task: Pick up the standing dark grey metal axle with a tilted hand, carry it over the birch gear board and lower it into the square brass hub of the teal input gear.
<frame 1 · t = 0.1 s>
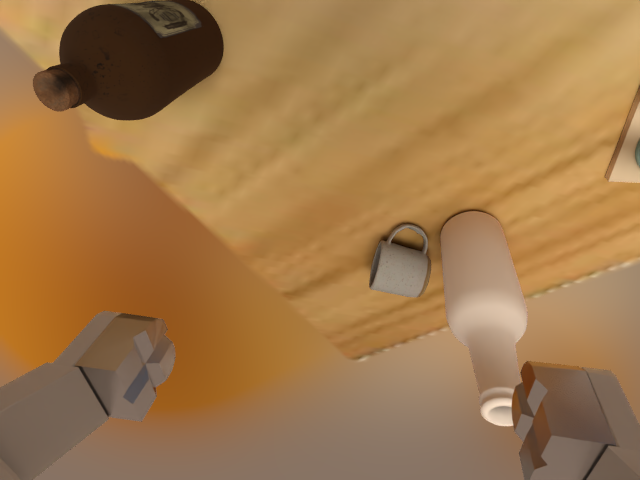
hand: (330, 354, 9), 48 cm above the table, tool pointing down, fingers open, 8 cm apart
ceramic mug: (401, 248, 65), on the table
olive oil: (191, 39, 53), on the table
alcohol: (470, 232, 61), on the table
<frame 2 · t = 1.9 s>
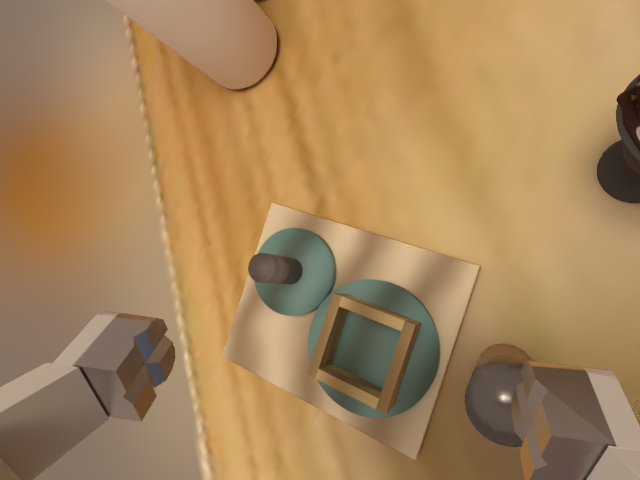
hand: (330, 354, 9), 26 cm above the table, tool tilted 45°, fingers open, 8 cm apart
axle: (505, 370, 31), on the table
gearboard: (340, 316, 37), on the table
alcohol: (247, 56, 46), on the table
sundae: (637, 170, 29), on the table
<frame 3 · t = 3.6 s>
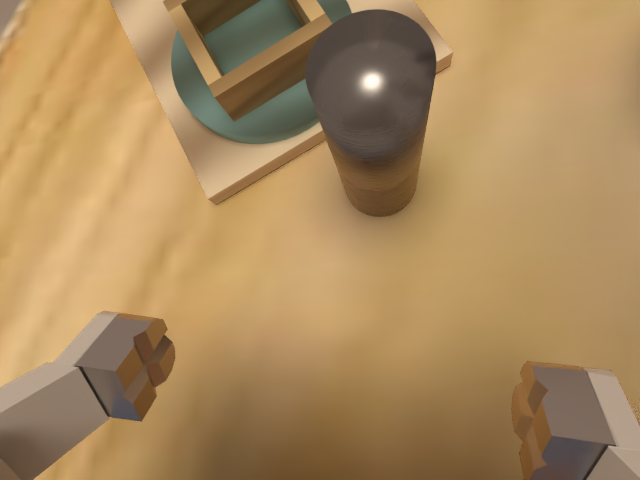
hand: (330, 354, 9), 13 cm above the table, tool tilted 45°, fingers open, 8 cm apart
axle: (380, 182, 23), on the table
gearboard: (257, 16, 27), on the table
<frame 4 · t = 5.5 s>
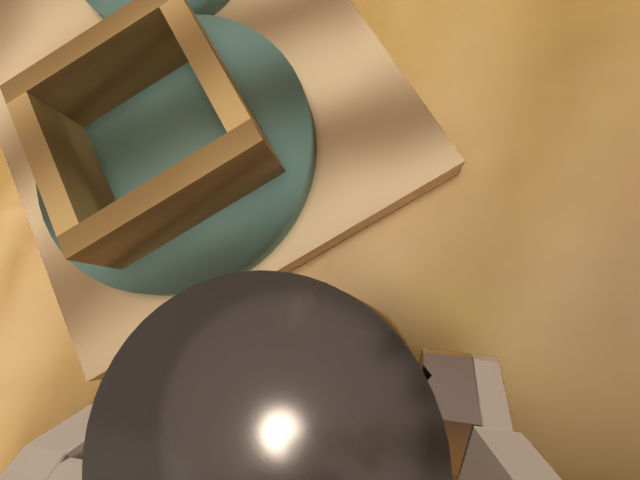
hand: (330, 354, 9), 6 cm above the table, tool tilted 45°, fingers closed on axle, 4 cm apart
axle: (352, 358, 15), on the table, touching gripper
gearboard: (178, 85, 18), on the table
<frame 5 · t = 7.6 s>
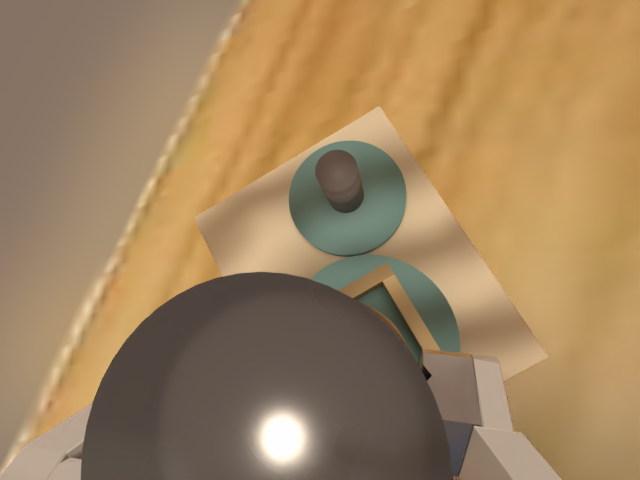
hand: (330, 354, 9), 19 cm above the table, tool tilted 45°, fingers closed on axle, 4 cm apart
axle: (352, 359, 15), point 13 cm above the table, touching gripper
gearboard: (354, 281, 29), on the table
when the fingers open (9 cm above the table, at t = 9.7 s): axle stays where it is, resting on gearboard.
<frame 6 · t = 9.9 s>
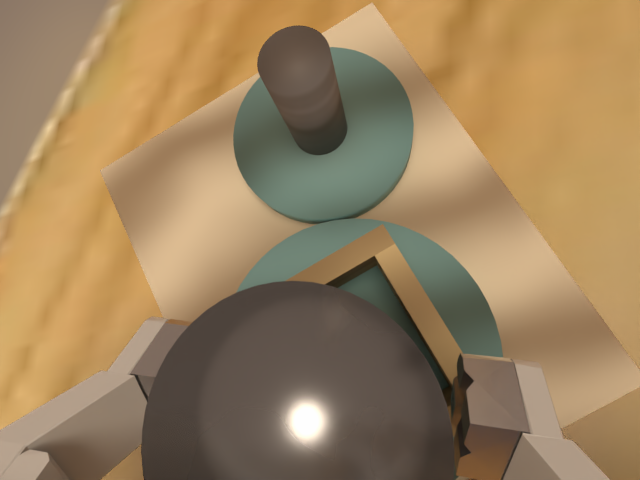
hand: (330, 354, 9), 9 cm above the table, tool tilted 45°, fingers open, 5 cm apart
axle: (353, 356, 16), point 2 cm above the table, touching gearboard
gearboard: (333, 262, 19), on the table
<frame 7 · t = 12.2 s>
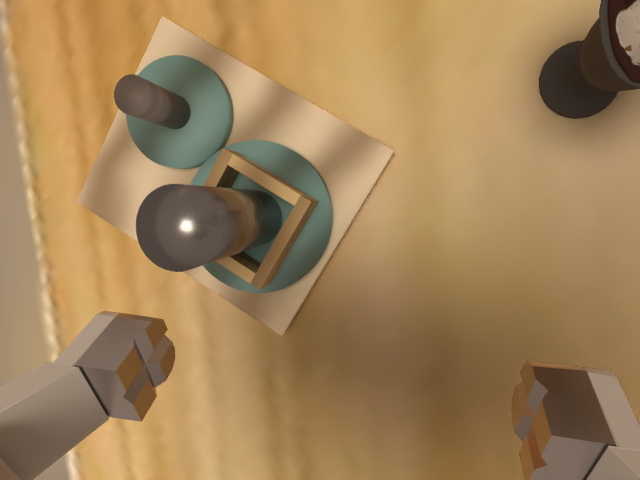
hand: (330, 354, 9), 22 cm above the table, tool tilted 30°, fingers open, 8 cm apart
axle: (255, 217, 29), point 2 cm above the table, touching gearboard
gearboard: (229, 179, 32), on the table
sundae: (578, 80, 27), on the table
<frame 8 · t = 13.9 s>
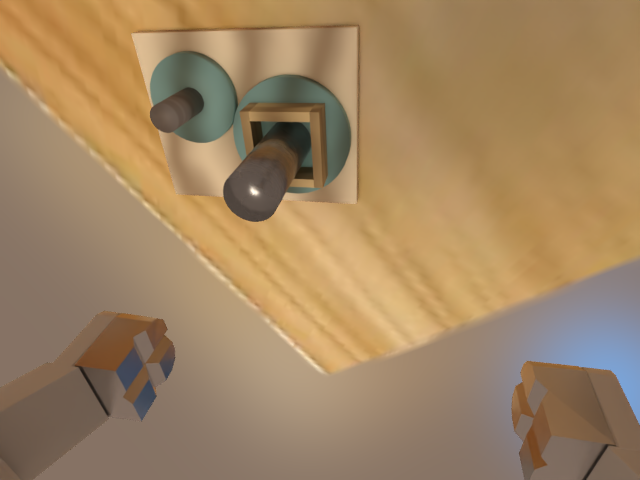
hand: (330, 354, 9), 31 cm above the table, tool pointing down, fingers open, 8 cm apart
axle: (290, 140, 37), point 2 cm above the table, touching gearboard
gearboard: (255, 120, 40), on the table
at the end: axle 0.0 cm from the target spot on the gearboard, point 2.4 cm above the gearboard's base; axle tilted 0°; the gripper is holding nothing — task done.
